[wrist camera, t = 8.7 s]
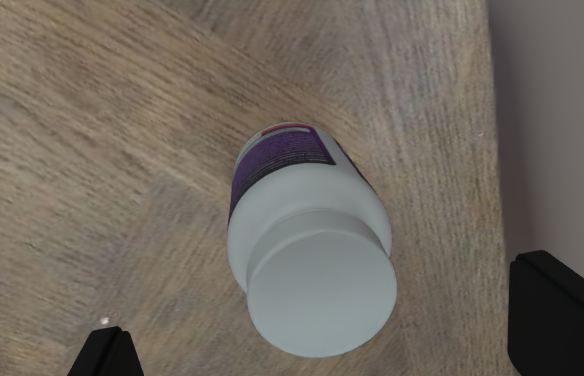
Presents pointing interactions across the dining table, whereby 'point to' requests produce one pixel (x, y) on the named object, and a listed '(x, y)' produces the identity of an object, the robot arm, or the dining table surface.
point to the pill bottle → (309, 242)
